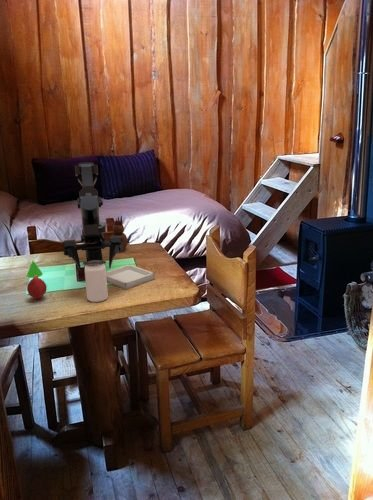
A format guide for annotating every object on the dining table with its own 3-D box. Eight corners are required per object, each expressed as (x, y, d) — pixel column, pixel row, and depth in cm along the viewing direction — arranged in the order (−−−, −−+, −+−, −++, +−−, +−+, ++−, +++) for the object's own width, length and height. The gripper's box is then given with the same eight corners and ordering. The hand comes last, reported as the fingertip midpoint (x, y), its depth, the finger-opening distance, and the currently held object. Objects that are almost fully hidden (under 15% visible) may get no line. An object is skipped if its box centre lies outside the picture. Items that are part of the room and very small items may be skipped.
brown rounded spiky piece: (130, 250, 194) (128, 215, 189) (119, 253, 190) (117, 218, 185) (120, 247, 198) (117, 213, 194) (109, 250, 194) (106, 215, 190)
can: (103, 303, 143) (100, 267, 139) (84, 302, 144) (80, 265, 140) (110, 295, 149) (108, 260, 145) (92, 293, 150) (89, 259, 146)
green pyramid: (44, 276, 166) (43, 260, 165) (27, 279, 164) (25, 263, 162) (41, 271, 172) (39, 256, 170) (24, 274, 169) (22, 258, 167)
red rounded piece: (37, 304, 143) (34, 280, 141) (24, 300, 146) (21, 276, 143) (51, 297, 148) (48, 274, 145) (39, 294, 151) (36, 271, 148)
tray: (100, 279, 162) (100, 273, 161) (129, 269, 171) (129, 264, 170) (125, 289, 153) (125, 283, 152) (154, 279, 161) (154, 273, 161)
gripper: (59, 215, 143) (62, 260, 136) (120, 211, 147) (125, 254, 140) (63, 233, 153) (65, 276, 146) (119, 229, 156) (124, 270, 149)
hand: (95, 269), depth 145 cm, fingers open, 9 cm apart
